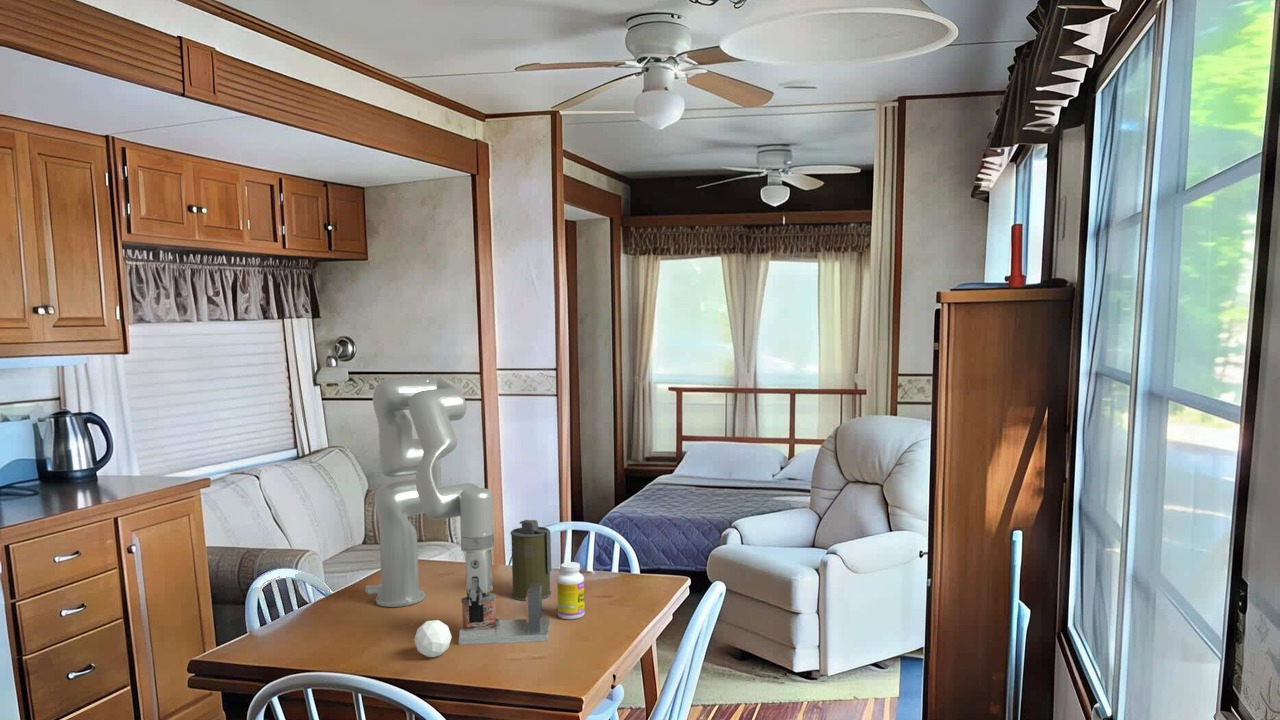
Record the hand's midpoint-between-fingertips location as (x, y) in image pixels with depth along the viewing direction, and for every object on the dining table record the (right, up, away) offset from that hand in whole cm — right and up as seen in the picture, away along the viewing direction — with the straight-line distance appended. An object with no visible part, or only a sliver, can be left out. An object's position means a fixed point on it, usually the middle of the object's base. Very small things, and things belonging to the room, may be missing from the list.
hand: (479, 614), depth 194 cm
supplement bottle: (+20, -4, +12) cm, 24 cm away
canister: (+9, -4, +30) cm, 31 cm away
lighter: (0, -4, 0) cm, 4 cm away
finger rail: (+6, -5, 0) cm, 8 cm away
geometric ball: (-8, -6, -11) cm, 15 cm away
